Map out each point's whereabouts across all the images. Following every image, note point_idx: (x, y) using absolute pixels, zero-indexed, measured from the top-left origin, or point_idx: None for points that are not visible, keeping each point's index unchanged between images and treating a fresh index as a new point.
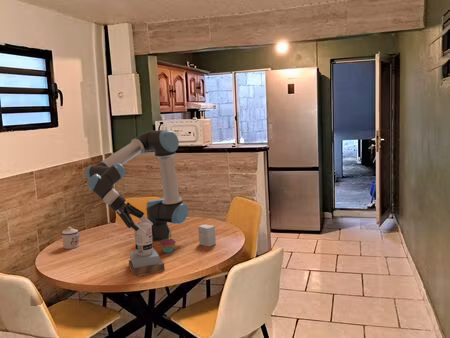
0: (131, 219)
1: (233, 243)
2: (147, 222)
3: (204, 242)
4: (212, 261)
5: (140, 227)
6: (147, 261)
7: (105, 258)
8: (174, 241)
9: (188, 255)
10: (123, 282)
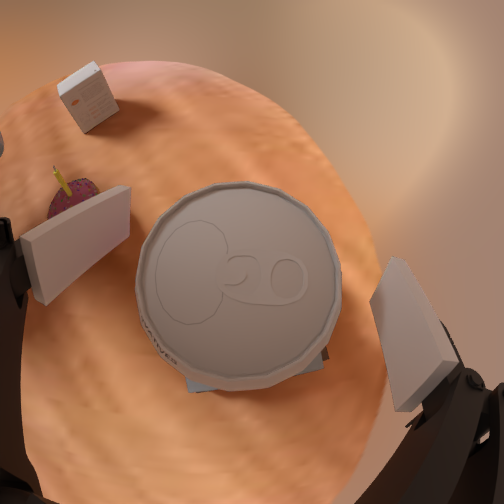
0: (462, 428)
1: (132, 70)
2: (171, 213)
3: (100, 114)
4: (247, 105)
5: (417, 296)
6: None
7: (90, 454)
8: (81, 180)
9: (160, 158)
10: (367, 393)
